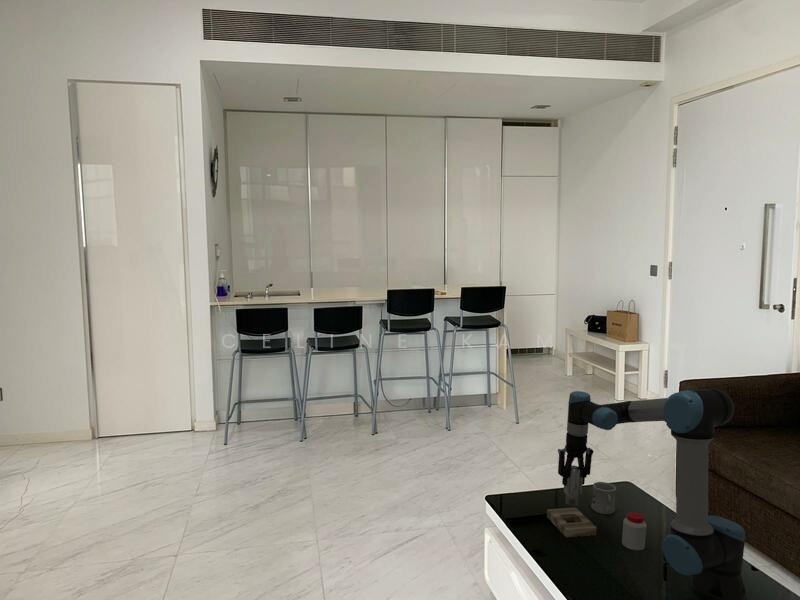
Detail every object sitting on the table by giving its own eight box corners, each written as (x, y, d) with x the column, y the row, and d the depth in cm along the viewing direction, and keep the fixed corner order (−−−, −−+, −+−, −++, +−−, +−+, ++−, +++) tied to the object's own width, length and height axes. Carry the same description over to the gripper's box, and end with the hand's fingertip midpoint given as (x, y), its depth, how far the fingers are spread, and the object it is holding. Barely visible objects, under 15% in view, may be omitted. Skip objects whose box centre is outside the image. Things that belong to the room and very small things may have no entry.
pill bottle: (646, 551, 208) (649, 521, 207) (623, 548, 210) (625, 519, 209) (642, 540, 216) (644, 511, 215) (620, 538, 217) (622, 509, 216)
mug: (588, 504, 244) (589, 481, 243) (610, 505, 244) (612, 482, 243) (597, 518, 232) (598, 494, 231) (620, 519, 232) (622, 495, 230)
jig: (596, 535, 219) (596, 527, 218) (565, 537, 216) (566, 529, 216) (575, 514, 234) (575, 507, 234) (546, 516, 232) (547, 509, 232)
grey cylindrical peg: (580, 505, 223) (583, 470, 221) (568, 506, 222) (571, 470, 220) (574, 500, 227) (577, 465, 226) (563, 500, 227) (565, 465, 225)
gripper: (593, 429, 227) (589, 487, 230) (550, 430, 223) (546, 489, 226) (603, 435, 219) (599, 496, 222) (559, 437, 216) (555, 498, 219)
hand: (572, 492), depth 224 cm, fingers closed on grey cylindrical peg, 5 cm apart
